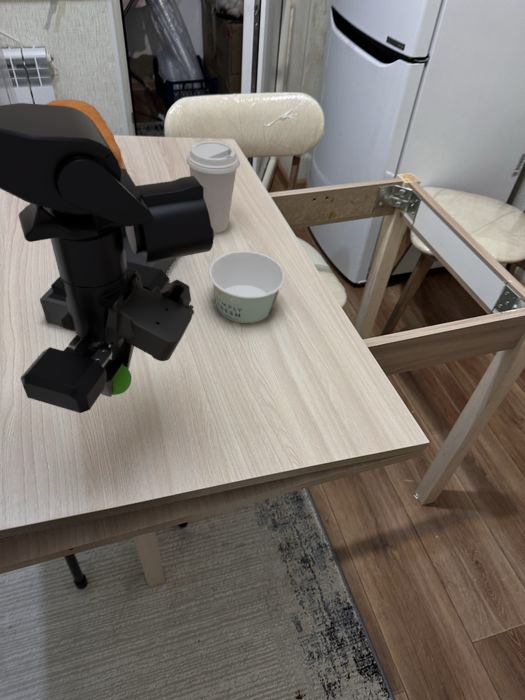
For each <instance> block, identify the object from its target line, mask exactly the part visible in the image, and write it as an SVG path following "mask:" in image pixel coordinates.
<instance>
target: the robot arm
mask: <svg viewBox="0 0 525 700" xmlns="http://www.w3.org/2000/svg"><path fill="white" fill-rule="evenodd" d="M126 170H127V168H126V169H122V168H121V167H120V166H119V163H118V160H117V158H116V157H115V155H114V153H113V152H112V150H111V148H110V147H109V145H108V144H107V142H106V140H105V139H104V137H103V135H102V134H101V132H100V131H99V129H98V128H97V126H96V125H95V123H94V122H93V121H92V120H91V119H90V117H89V116H87V115H86V114H85V113H83V112H82V111H79V110H77V109H75V108H72V107H67V106H57V105H45V104H42V103H41V104H40V103H28V102H26V103H25V102H17V103H11V104H9V103H8V104H2V105H0V190H2V191H4V192H6V193H8V194H10V195H12V196H14V197H16V198H18V199H20V200H22V201H24V202H25V203H29V204H28V205H26V206H25V207H24V208H23V209H22V210H21V211H20V212H19V213H18V220H19V223H20V226H21V230H22V233H23V237H24V239H25V240H26V241H27V242H29V243H32V242H38V241H39V242H40V241H45V240H50V242H51V247H52V251H53V254H54V258H55V262H56V267H57V269H58V274H59V276H58V278H56V280H54V281H53V282H52V284H51V285H50V286H51V287H52V290H53V294H55V295H59V296H62V297H65V298H66V302H67V306H68V309H69V312H68V313H67V314H66V315H65V316H64V317H63V318H62V319H61V323H62V326H61V327H62V329H65V330H69V331H72V332H75V334H76V335H75V336H74V337H73V338H72V339H71V340H70V342H69V343H68V345H67V346H66V347H65V348H64V349H63V350H62V349H58V348H54V347H52V346H51V347H50V346H49V347H48V348H46V349H45V350H43V351H42V352H41V353H40V354H39V355H38V357H37V358H36V359H35V360H34V361H33V362H32V364H30V366H29V367H28V368H27V369H26V371H24V373H23V374H22V375H21V376H20V381H21V384H22V388H23V390H24V392H25V395H26V397H27V399H31V400H34V401H38V402H41V403H45V404H48V405H51V406H55V407H57V408H62V409H65V410H67V411H68V410H69V411H72V412H75V413H79V414H82V413H85V412H88V411H90V410H92V408H93V406H94V404H95V403H96V401H97V400H98V399H99V397H100V395H102V396H104V397H108V398H111V397H112V396H114V395H113V378H114V376H115V375H116V373H117V372H118V370H119V369H120V367H121V366H122V365H124V366H125V367H127V368H128V370H129V369H130V366H131V361H132V358H133V352H134V349H135V348H136V349H139V351H142V352H144V353H146V354H148V355H150V356H151V357H152V358H153V359H155V360H156V361H159V362H166V361H168V360H170V359H171V358H172V356H173V354H174V352H175V351H176V348H177V347H178V346H179V344H180V342H181V340H182V338H183V337H184V334H185V332H186V330H187V328H188V327H189V325H190V323H191V321H192V318H193V316H194V314H195V311H194V305H192V304H191V302H192V297H191V290H190V286H189V284H187V283H185V282H183V281H182V280H180V279H174V280H173V281H171V282H170V277H169V276H168V275H167V274H166V273H164V272H163V271H162V270H161V269H157V268H153V267H149V266H145V265H141V264H137V263H133V262H129V261H126V255H125V247H124V239H123V232H122V226H125V229H126V233H127V237H128V241H129V244H130V246H131V249H132V251H133V253H134V254H137V253H142V251H143V255H144V259H145V261H146V262H149V263H153V262H158V261H163V260H168V259H173V258H176V259H177V258H181V257H187V256H192V255H197V254H198V255H199V254H203V253H207V252H210V251H211V250H212V248H213V245H214V239H215V238H214V237H215V234H214V231H213V228H212V227H211V222H210V217H209V213H208V209H207V206H206V203H205V200H204V187H203V186H202V185H201V184H200V182H199V181H198V180H197V179H196V177H194V176H190V175H189V176H182V177H179V178H176V179H174V180H169V181H163V182H155V183H147V184H139V185H136V184H135V182H134V181H133V179H132V177H131V175H130V174H129V172H128V171H126ZM129 371H130V370H129Z"/></svg>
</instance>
